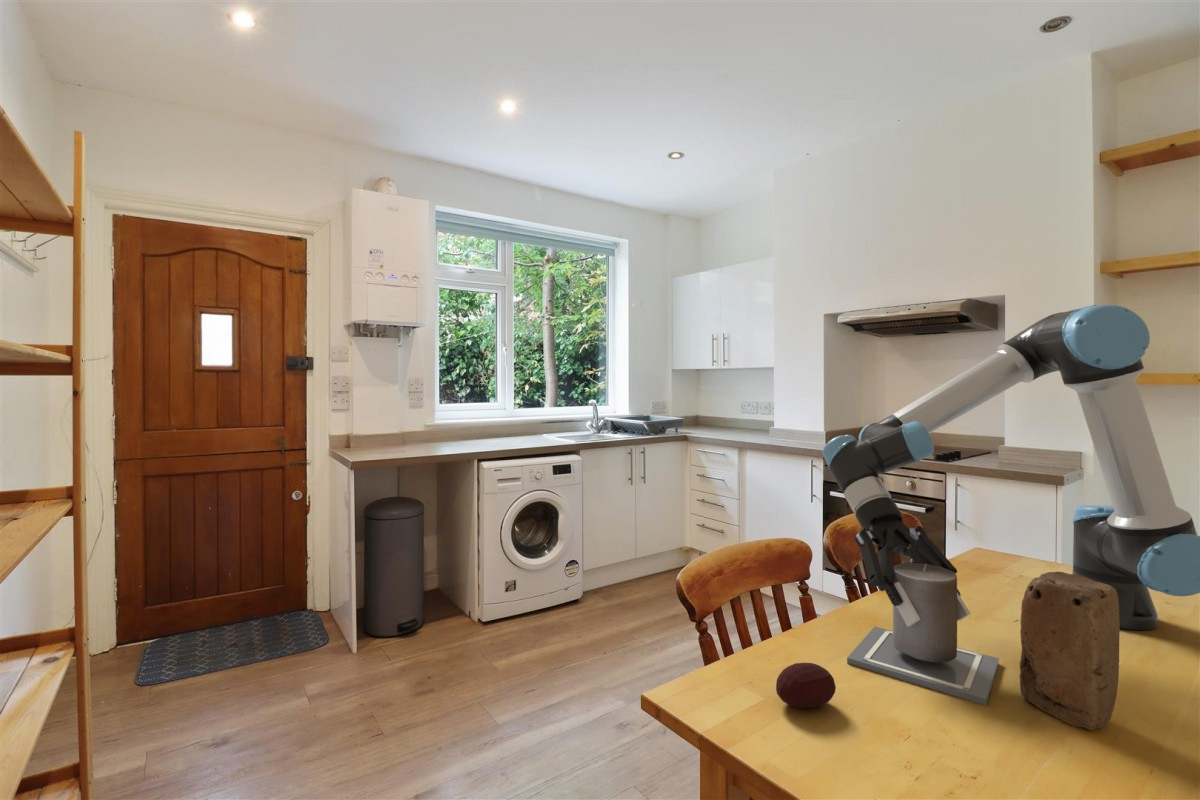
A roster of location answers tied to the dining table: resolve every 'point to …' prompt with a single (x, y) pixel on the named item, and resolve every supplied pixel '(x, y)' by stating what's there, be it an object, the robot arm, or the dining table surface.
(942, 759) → the dining table surface
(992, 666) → the slate tile
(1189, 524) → the robot arm
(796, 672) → the potato
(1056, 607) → the block
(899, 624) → the pillar candle
